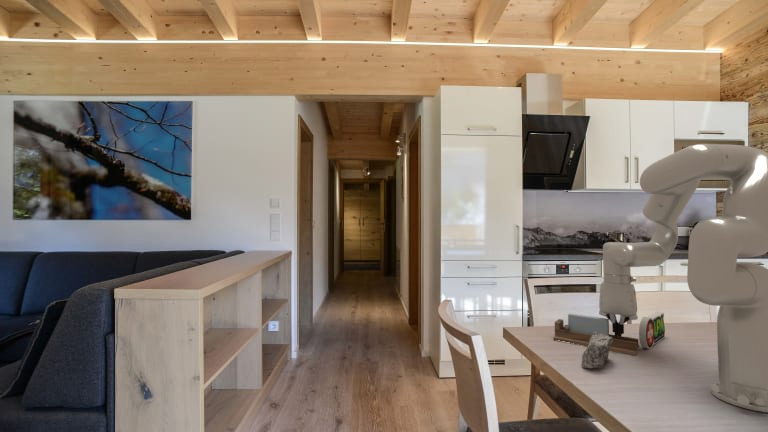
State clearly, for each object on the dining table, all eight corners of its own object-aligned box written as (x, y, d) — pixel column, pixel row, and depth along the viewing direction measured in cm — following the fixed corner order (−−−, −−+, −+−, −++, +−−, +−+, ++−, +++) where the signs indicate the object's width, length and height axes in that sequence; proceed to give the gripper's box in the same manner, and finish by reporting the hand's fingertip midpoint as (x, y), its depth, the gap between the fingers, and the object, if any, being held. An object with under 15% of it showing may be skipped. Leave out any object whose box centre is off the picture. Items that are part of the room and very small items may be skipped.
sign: (659, 336, 130) (658, 309, 130) (665, 338, 128) (664, 310, 129) (639, 350, 116) (638, 319, 116) (646, 352, 114) (645, 320, 115)
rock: (598, 375, 96) (601, 337, 97) (566, 365, 102) (569, 329, 103) (620, 371, 105) (622, 336, 106) (589, 361, 112) (592, 329, 113)
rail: (635, 355, 111) (635, 336, 111) (553, 340, 126) (553, 323, 127) (639, 348, 117) (638, 330, 118) (560, 334, 133) (560, 318, 133)
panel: (607, 344, 118) (607, 320, 118) (568, 337, 126) (568, 314, 126) (609, 342, 120) (608, 318, 120) (570, 335, 128) (569, 313, 128)
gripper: (646, 280, 116) (647, 337, 115) (593, 276, 126) (595, 328, 125) (643, 283, 110) (645, 343, 110) (588, 278, 120) (590, 333, 120)
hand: (618, 335), depth 118 cm, fingers closed
